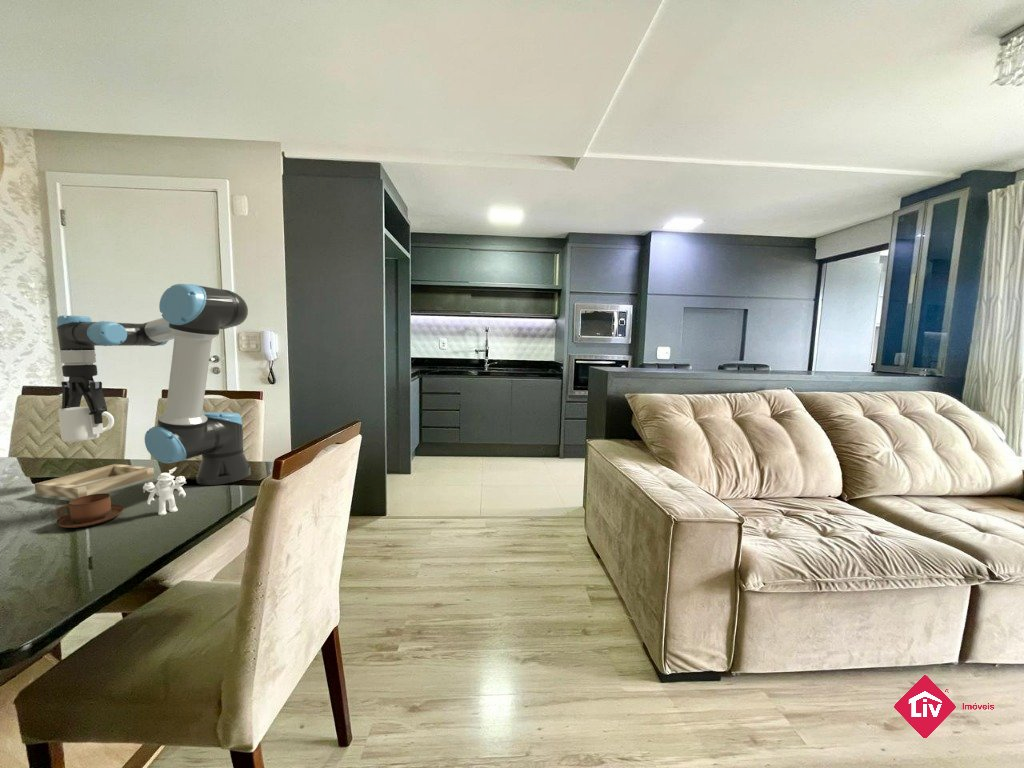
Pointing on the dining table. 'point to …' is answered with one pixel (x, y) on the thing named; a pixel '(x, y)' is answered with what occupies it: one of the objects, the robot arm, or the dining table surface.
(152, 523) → the dining table surface
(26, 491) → the dining table surface
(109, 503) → the cup and saucer
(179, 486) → the white toy figurine
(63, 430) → the mug
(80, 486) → the board
